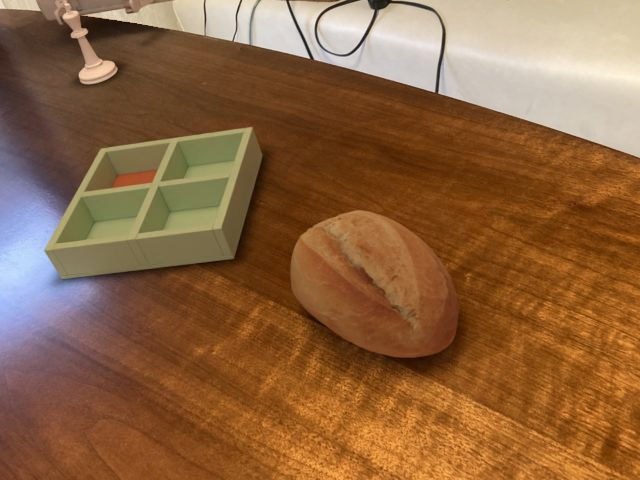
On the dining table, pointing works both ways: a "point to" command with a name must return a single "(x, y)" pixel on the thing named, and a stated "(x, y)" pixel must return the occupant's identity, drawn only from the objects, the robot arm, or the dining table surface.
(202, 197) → the grid
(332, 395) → the dining table surface
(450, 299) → the bread roll
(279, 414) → the dining table surface
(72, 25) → the chess piece
